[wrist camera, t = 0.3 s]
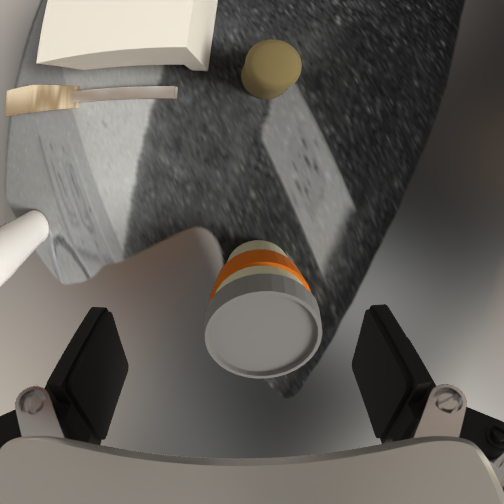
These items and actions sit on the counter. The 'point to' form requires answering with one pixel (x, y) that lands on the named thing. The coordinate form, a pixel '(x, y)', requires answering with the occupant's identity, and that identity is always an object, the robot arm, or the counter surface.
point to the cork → (270, 69)
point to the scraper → (76, 96)
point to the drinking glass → (20, 241)
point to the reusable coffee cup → (261, 314)
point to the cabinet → (127, 33)
